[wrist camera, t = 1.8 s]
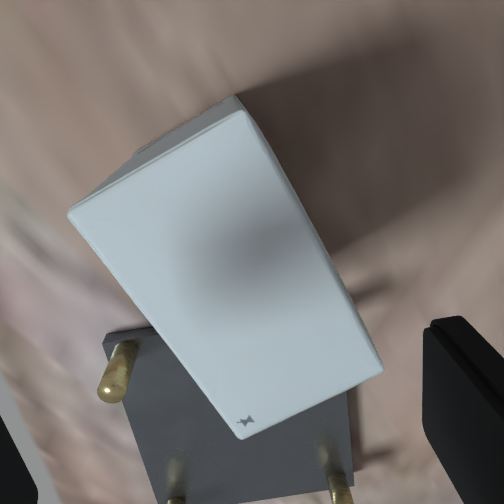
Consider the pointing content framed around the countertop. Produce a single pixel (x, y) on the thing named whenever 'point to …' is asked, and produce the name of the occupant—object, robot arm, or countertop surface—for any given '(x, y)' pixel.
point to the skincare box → (230, 270)
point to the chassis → (219, 434)
